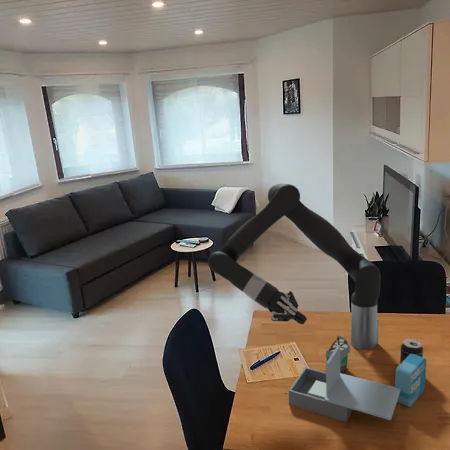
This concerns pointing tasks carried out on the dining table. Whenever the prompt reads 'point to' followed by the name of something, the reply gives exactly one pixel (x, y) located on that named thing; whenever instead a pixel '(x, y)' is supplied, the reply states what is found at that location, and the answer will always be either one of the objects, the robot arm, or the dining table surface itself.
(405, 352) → the beverage can
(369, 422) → the dining table surface
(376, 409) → the lid
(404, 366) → the data package
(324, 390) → the box
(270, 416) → the dining table surface
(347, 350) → the food container
